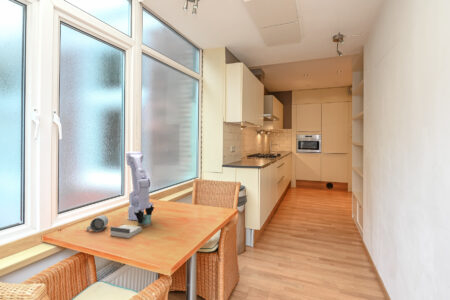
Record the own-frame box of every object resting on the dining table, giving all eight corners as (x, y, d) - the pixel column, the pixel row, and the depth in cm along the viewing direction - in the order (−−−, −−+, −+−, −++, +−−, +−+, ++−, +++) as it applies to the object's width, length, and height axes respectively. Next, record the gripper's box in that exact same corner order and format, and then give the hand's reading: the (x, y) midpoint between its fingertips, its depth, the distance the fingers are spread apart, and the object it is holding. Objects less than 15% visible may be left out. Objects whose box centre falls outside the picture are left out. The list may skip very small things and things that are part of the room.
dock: (110, 235, 124) (110, 227, 124) (124, 228, 134) (124, 220, 134) (128, 238, 120) (128, 229, 120) (141, 231, 130) (141, 223, 130)
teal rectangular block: (137, 225, 138) (137, 216, 138) (142, 223, 142) (141, 214, 142) (147, 227, 136) (147, 217, 135) (151, 224, 140) (151, 215, 139)
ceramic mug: (109, 225, 139) (108, 213, 138) (104, 230, 131) (104, 217, 130) (90, 227, 137) (89, 214, 136) (84, 233, 129) (83, 219, 128)
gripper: (141, 202, 130) (142, 226, 130) (157, 196, 144) (157, 217, 144) (131, 201, 132) (132, 224, 133) (147, 195, 146) (148, 216, 146)
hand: (144, 221), depth 139 cm, fingers open, 7 cm apart
